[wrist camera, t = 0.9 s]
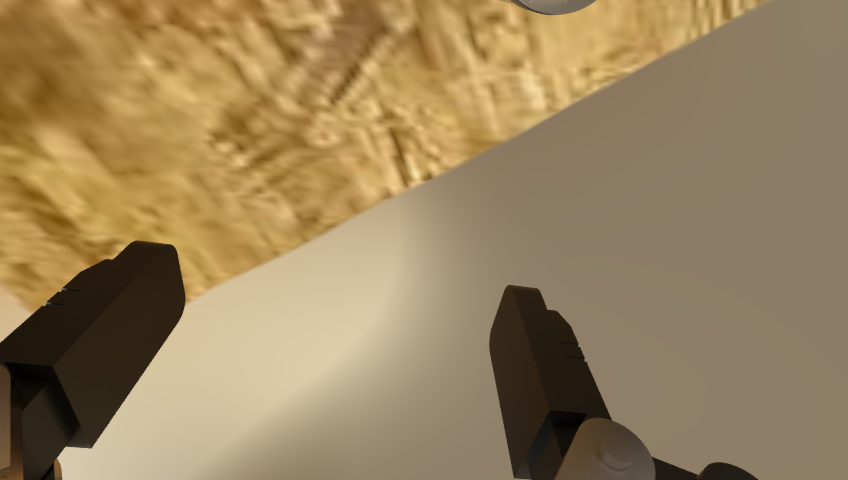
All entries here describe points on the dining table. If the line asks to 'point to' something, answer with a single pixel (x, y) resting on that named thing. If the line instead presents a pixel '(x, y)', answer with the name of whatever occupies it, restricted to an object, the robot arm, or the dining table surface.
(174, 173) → the dining table surface
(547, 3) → the piston
